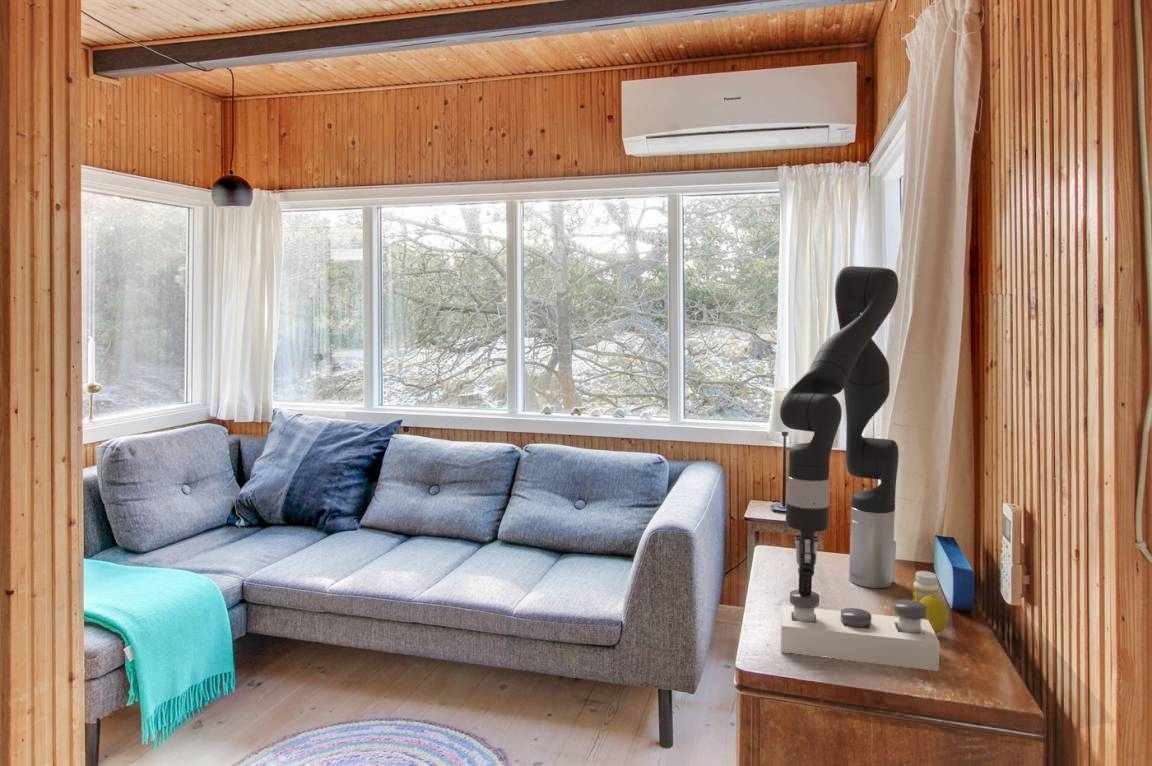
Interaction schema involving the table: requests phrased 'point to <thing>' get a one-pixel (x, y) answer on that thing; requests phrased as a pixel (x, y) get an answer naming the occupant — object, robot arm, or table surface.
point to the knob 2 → (909, 615)
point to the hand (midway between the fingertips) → (804, 593)
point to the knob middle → (855, 618)
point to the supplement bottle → (925, 585)
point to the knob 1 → (804, 606)
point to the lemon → (935, 612)
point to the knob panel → (860, 640)
